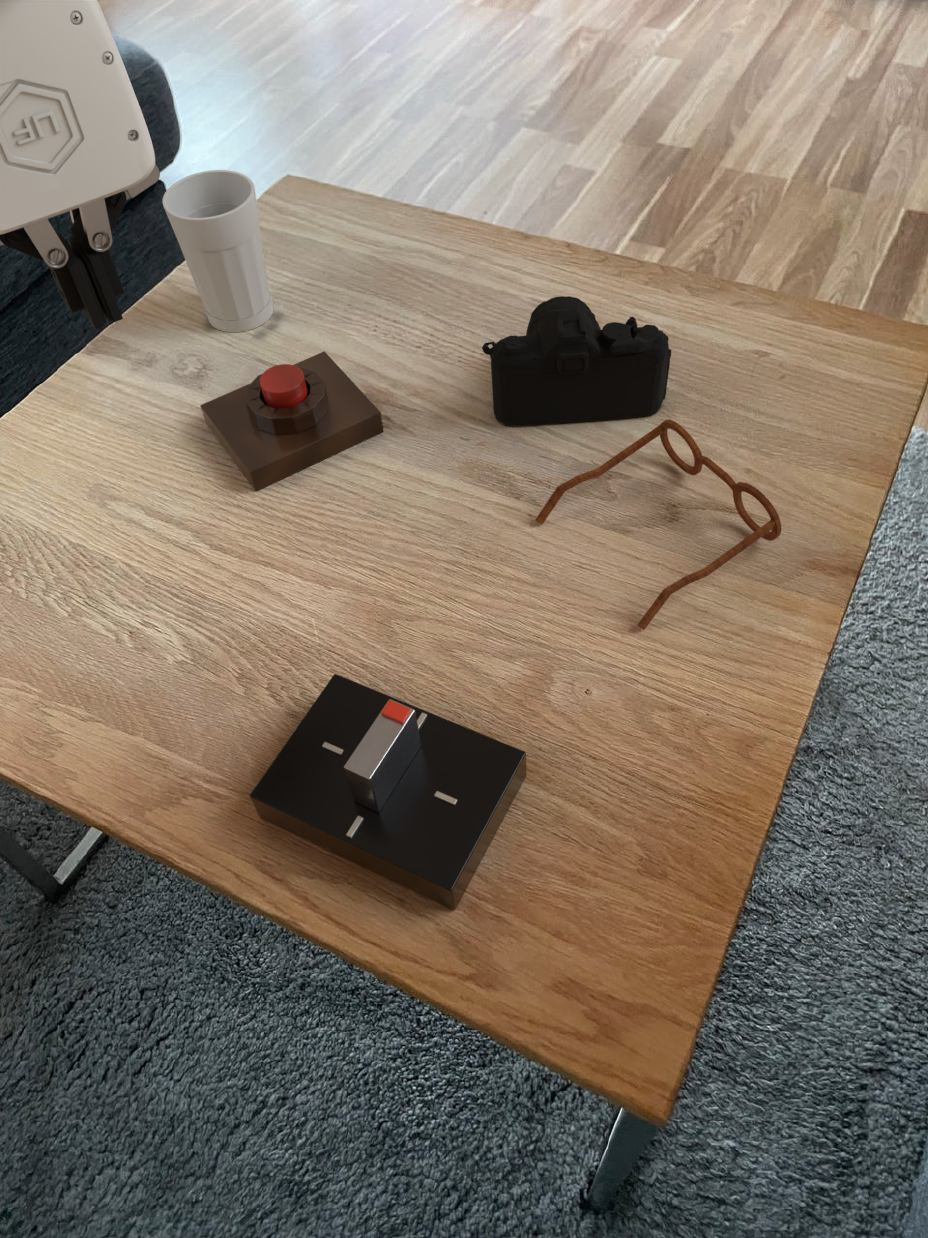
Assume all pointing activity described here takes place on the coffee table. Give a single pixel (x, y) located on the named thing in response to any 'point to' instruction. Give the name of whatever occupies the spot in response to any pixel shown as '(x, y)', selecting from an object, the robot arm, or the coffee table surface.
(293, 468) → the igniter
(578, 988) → the coffee table surface
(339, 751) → the black square plate
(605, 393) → the film camera
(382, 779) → the hob knob
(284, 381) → the button
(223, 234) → the cup
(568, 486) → the glasses
